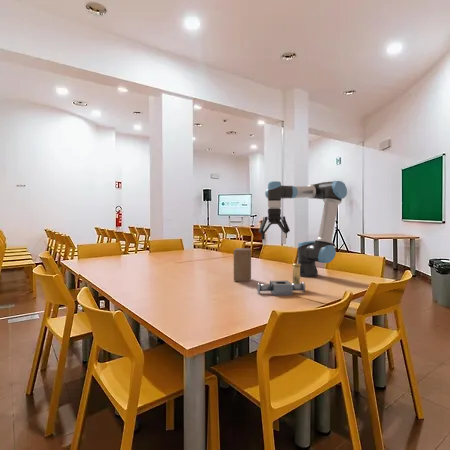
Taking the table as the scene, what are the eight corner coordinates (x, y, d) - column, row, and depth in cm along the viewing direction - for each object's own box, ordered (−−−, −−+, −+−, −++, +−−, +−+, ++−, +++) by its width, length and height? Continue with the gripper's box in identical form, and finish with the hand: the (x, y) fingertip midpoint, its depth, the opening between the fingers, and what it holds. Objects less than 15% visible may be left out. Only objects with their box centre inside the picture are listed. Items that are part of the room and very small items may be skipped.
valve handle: (299, 287, 178) (299, 263, 177) (301, 289, 173) (301, 264, 172) (291, 287, 177) (291, 263, 177) (293, 289, 173) (293, 264, 172)
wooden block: (249, 282, 191) (249, 250, 190) (233, 281, 193) (233, 249, 192) (251, 278, 201) (251, 248, 200) (236, 278, 203) (235, 247, 202)
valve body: (300, 290, 171) (300, 280, 171) (306, 295, 161) (306, 284, 161) (256, 291, 170) (256, 280, 170) (259, 295, 160) (259, 285, 160)
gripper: (288, 208, 189) (288, 242, 190) (252, 208, 179) (252, 244, 180) (295, 208, 182) (295, 243, 183) (259, 208, 172) (259, 246, 173)
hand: (274, 244), depth 182 cm, fingers open, 13 cm apart
